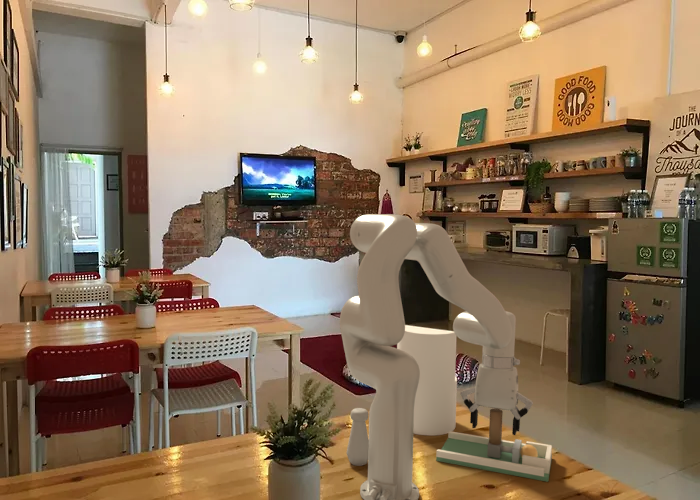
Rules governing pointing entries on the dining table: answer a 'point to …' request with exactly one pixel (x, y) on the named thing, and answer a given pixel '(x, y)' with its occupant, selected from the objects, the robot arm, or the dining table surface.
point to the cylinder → (433, 378)
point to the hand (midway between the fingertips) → (494, 429)
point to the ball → (529, 451)
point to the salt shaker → (358, 438)
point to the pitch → (474, 455)
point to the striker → (500, 438)
